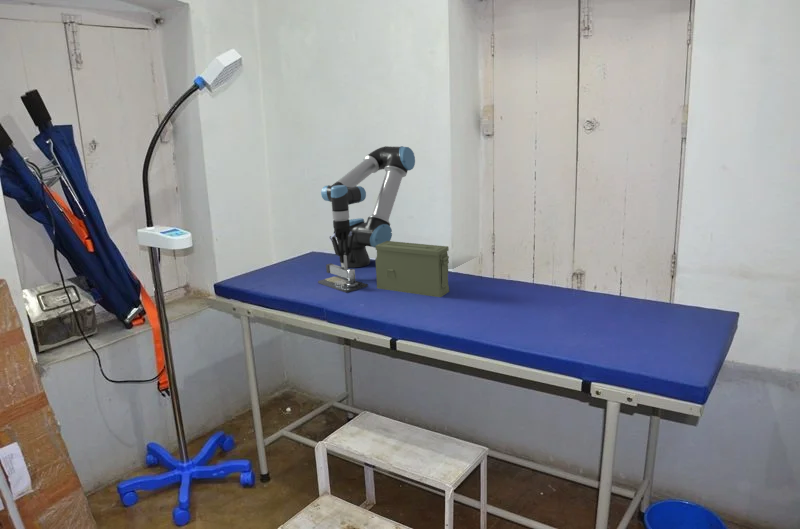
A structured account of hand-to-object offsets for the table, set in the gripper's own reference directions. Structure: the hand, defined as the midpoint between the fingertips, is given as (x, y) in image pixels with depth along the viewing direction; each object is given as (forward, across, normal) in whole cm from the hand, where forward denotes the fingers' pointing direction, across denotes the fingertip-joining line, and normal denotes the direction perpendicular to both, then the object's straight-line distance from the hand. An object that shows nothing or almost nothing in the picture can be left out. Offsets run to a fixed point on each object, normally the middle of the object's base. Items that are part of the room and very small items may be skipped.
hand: (344, 268), depth 282 cm
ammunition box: (+5, -10, +37) cm, 39 cm away
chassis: (+5, +6, +6) cm, 10 cm away
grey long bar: (+2, +6, +6) cm, 9 cm away
